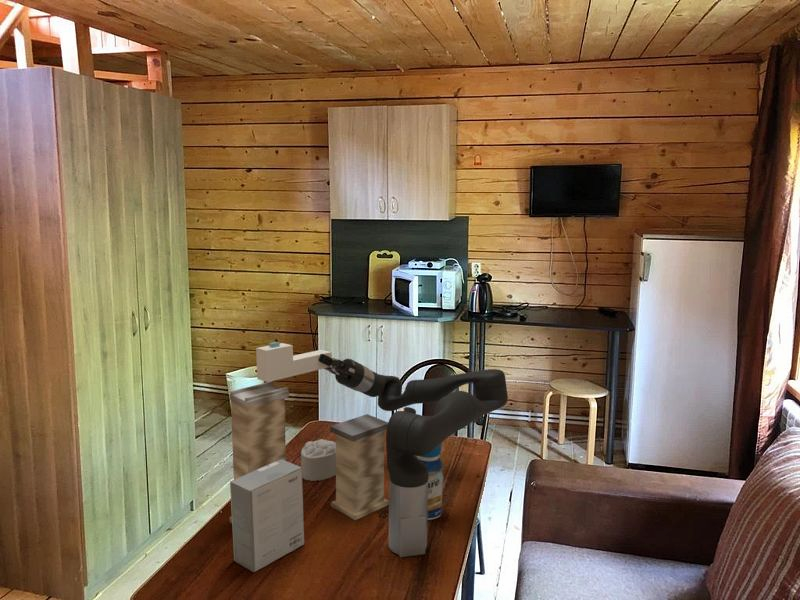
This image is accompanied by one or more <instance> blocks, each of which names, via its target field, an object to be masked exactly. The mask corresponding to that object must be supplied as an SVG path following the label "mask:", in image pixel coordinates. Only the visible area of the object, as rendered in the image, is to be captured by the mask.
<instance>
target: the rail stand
mask: <svg viewBox="0 0 800 600" xmlns="http://www.w3.org/2000/svg"><path fill="white" fill-rule="evenodd" d="M229 392H230V393H229V400H230V411H231V412H230V414H231V416H230V417H231V438H232V439H231V440H232V441H231V442H232V466H233V467H232V468H233V469H232V471H233V480H235V479H237V478H239V477H242V476H244V475H246V474H249V473H251V472H253V471H255V470H257V469H260V468H262V467H264V466H267V465H269V464H271V463H274V462H276V461H278V460H281V459H282V460H285V461H287V456H286V454H287V451H286V449H287V447H286V405H285V403H286V402H285V399H286V398H289V397H290V391H289V387H287V386H286V387H279V386H277V385H275V384H274V381H271V382H266V381H265V382H263V383H262V382H261V383H260V384H259V383H258V384H255V385H251V386H246V387H243V388H238V389H234V390H230V391H229ZM229 523H230V524H232V516H229Z"/></svg>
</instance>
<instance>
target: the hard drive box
mask: <svg viewBox="0 0 800 600" xmlns="http://www.w3.org/2000/svg"><path fill="white" fill-rule="evenodd" d="M229 487H230V488H229V489H230V506H231V508H230V509H231V517H232V523H231V525H232V541H233V542H232V544H233V561H234V562H236V563H237V564H238V565H241V566H242V567H244V568H246V569H248V570H249V571H250V572H252V573H256V572H257V571H259V570H261V569H263V568H264V567H267V566H269V565H270V564H271V563H273V562H275V561H277V560H278V559H280V558H282V557H284V556H286V555H287V554H290V553H291V552H294V551H296V550H297V549H298V548H300V547H302V546H304V545H305V529H304V528H305V527H304V496H303V494H304V492H303V489H304V488H303V477H302V468H301V466H299V465H296V464H294V463H292V462H289V461H287V460H286V461H285V460H282V459H281V460H278V461H276V462H274V463H271V464H269V465H267V466H264V467H262V468H260V469H257V470H255V471H253V472H251V473H249V474H246V475H244V476H242V477H239V478H237V479H235V480H234V479H233V480H230V481H229Z"/></svg>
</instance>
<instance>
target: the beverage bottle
mask: <svg viewBox="0 0 800 600" xmlns="http://www.w3.org/2000/svg"><path fill="white" fill-rule="evenodd" d="M441 454H442V443H440V444H439V445H438V446H437V447H436V448H435V449H434V450H433V451H431V452H430V453H428V454H427V455H424V456H416V457H417V458H418V459H419V460H420V461H421V462H423V463H424V464H425V465H426V466H427V468H428V473H429V476H428V515H427V521H432V520H435V519H438V518H439V517H441V516H442V513H443V484H444V482H443V481H444V472H443V470H444V464H443V461H442V459H441V457H440V456H441Z"/></svg>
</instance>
